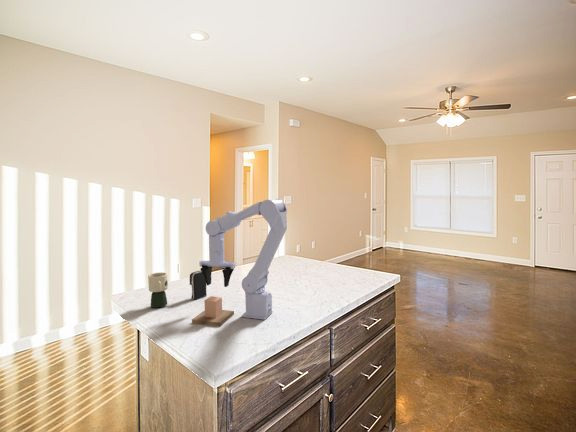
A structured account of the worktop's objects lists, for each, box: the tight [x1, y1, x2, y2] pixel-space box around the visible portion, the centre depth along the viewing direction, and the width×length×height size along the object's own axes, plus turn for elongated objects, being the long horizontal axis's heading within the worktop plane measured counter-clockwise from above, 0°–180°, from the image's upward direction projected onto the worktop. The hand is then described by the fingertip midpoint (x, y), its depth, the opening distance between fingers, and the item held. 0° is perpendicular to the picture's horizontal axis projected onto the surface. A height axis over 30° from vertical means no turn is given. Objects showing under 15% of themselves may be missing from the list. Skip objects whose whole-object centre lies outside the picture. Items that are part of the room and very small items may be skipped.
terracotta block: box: [204, 295, 223, 318], centre depth 118 cm, size 4×4×6 cm
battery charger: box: [189, 270, 208, 300], centre depth 142 cm, size 7×4×11 cm, turn 145°
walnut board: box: [191, 309, 235, 327], centre depth 119 cm, size 11×11×2 cm
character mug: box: [147, 272, 169, 308], centre depth 131 cm, size 11×7×13 cm, turn 28°
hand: (217, 285), depth 127 cm, fingers open, 7 cm apart
